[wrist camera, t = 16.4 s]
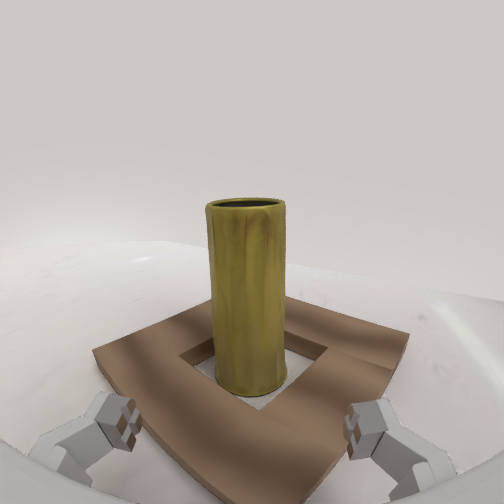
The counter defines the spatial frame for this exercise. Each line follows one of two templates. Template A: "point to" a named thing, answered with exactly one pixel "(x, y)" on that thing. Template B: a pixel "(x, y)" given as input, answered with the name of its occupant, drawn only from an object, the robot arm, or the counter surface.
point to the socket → (245, 416)
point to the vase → (248, 292)
